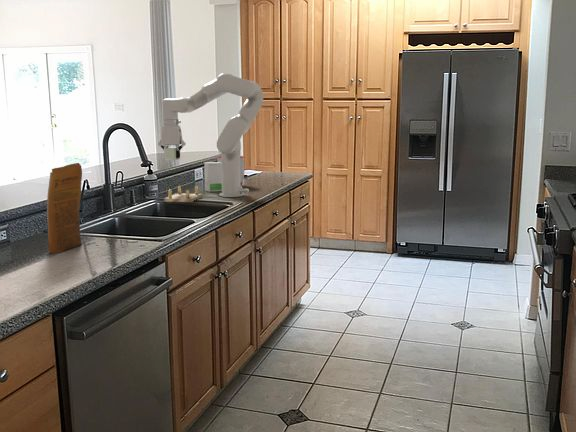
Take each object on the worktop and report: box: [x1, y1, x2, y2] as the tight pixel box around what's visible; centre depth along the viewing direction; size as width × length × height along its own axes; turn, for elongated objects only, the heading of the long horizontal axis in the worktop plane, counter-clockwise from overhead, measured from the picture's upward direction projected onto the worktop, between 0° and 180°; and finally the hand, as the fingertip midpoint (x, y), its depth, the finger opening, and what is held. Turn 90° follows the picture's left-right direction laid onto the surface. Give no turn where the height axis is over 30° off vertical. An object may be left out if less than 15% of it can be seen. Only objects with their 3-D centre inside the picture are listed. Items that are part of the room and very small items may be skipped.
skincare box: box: [203, 161, 222, 193], centre depth 337 cm, size 8×7×16 cm
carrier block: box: [163, 146, 181, 162], centre depth 322 cm, size 5×10×6 cm, turn 171°
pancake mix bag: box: [46, 162, 83, 254], centre depth 206 cm, size 7×19×28 cm, turn 162°
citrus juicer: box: [216, 155, 245, 186], centre depth 355 cm, size 16×17×20 cm
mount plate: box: [163, 185, 203, 203], centre depth 310 cm, size 14×17×6 cm
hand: (172, 158), depth 322 cm, fingers closed on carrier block, 5 cm apart
